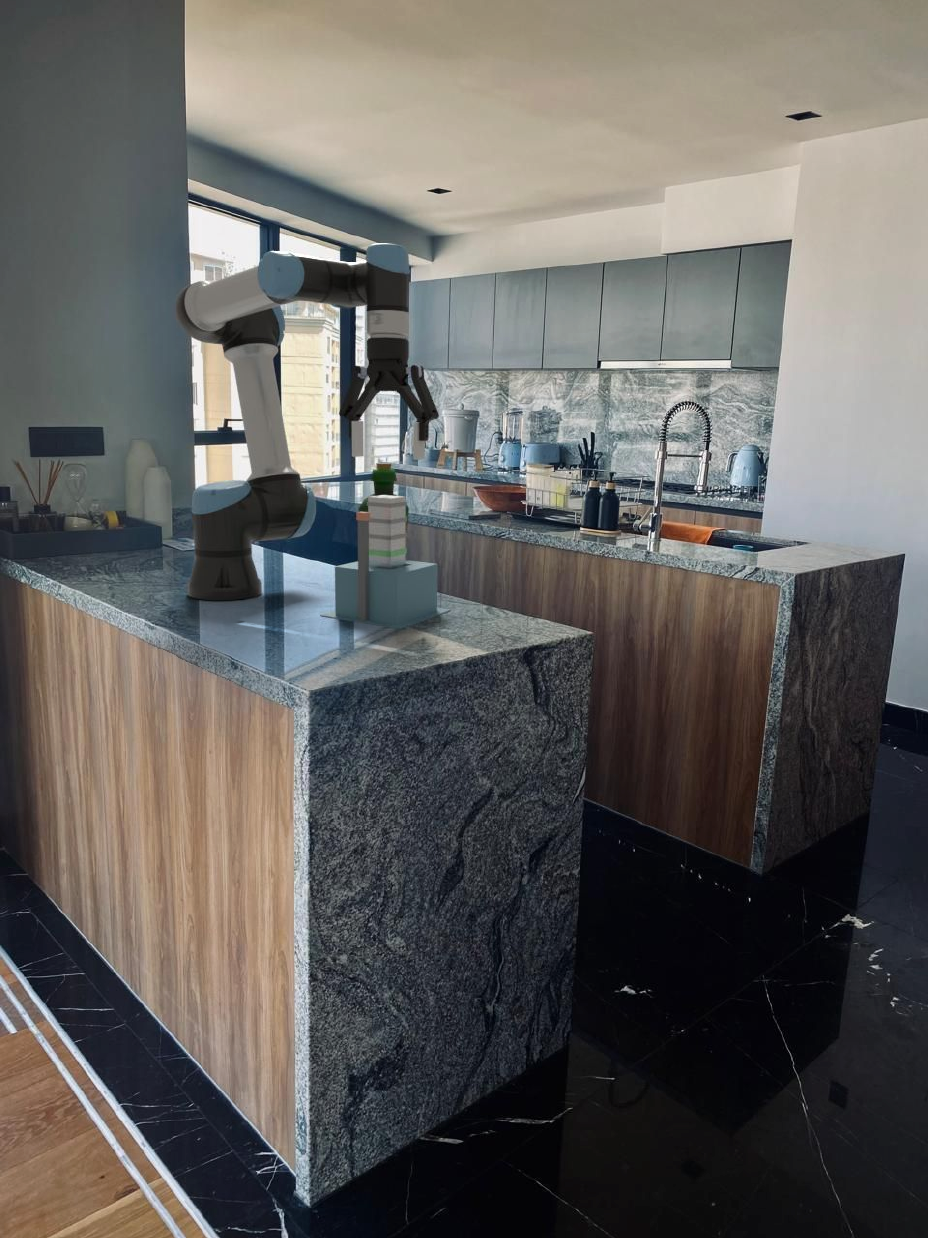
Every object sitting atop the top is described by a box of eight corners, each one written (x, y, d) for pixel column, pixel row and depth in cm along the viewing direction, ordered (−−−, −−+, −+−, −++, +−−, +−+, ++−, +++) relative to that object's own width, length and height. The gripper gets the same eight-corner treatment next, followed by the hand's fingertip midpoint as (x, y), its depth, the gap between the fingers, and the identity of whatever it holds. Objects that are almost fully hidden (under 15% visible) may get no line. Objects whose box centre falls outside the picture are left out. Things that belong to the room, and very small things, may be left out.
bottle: (401, 603, 181) (401, 465, 174) (351, 599, 183) (350, 463, 176) (414, 593, 191) (415, 462, 184) (367, 590, 193) (367, 461, 186)
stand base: (320, 619, 165) (318, 509, 161) (375, 602, 181) (375, 501, 176) (400, 632, 157) (400, 516, 152) (450, 613, 172) (452, 508, 167)
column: (367, 612, 168) (366, 496, 162) (383, 607, 172) (383, 494, 167) (390, 616, 165) (391, 498, 160) (406, 610, 170) (407, 496, 164)
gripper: (319, 337, 160) (321, 455, 164) (436, 334, 148) (435, 461, 153) (344, 340, 166) (345, 454, 171) (458, 337, 154) (456, 460, 159)
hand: (387, 458), depth 162 cm, fingers open, 13 cm apart
